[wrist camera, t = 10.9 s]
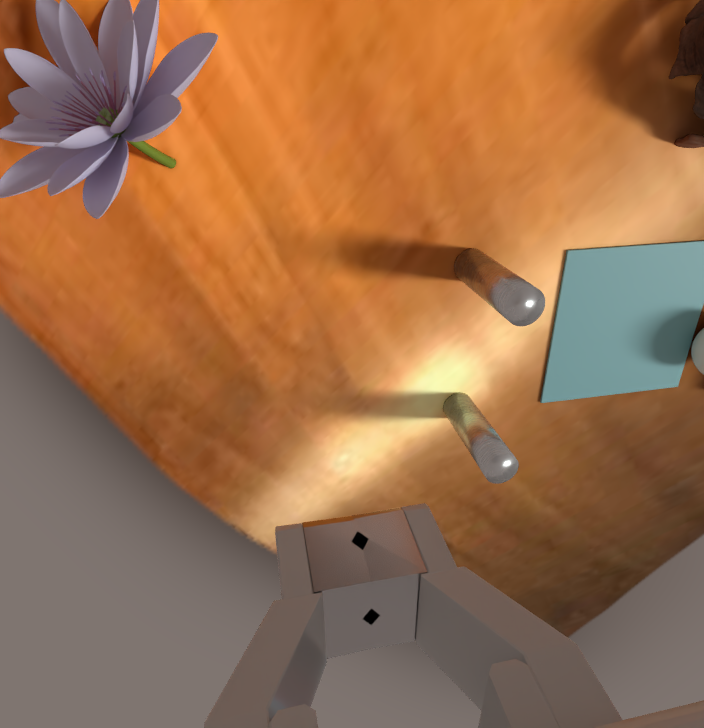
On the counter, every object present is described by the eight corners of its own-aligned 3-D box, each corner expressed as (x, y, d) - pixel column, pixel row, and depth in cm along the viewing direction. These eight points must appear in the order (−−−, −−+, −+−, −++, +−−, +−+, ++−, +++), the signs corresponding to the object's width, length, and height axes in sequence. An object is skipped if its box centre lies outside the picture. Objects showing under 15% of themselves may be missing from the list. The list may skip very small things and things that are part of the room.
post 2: (444, 394, 46) (486, 457, 38) (472, 391, 46) (520, 452, 38) (442, 419, 47) (483, 485, 39) (469, 416, 47) (516, 480, 40)
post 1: (455, 249, 40) (508, 288, 32) (487, 247, 40) (548, 285, 33) (452, 282, 41) (503, 327, 33) (484, 280, 42) (541, 324, 34)
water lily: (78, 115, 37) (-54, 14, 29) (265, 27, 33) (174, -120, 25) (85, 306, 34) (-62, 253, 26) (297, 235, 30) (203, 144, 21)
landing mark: (566, 250, 42) (568, 250, 42) (721, 239, 44) (723, 239, 44) (540, 401, 48) (541, 403, 48) (676, 385, 51) (677, 386, 50)
